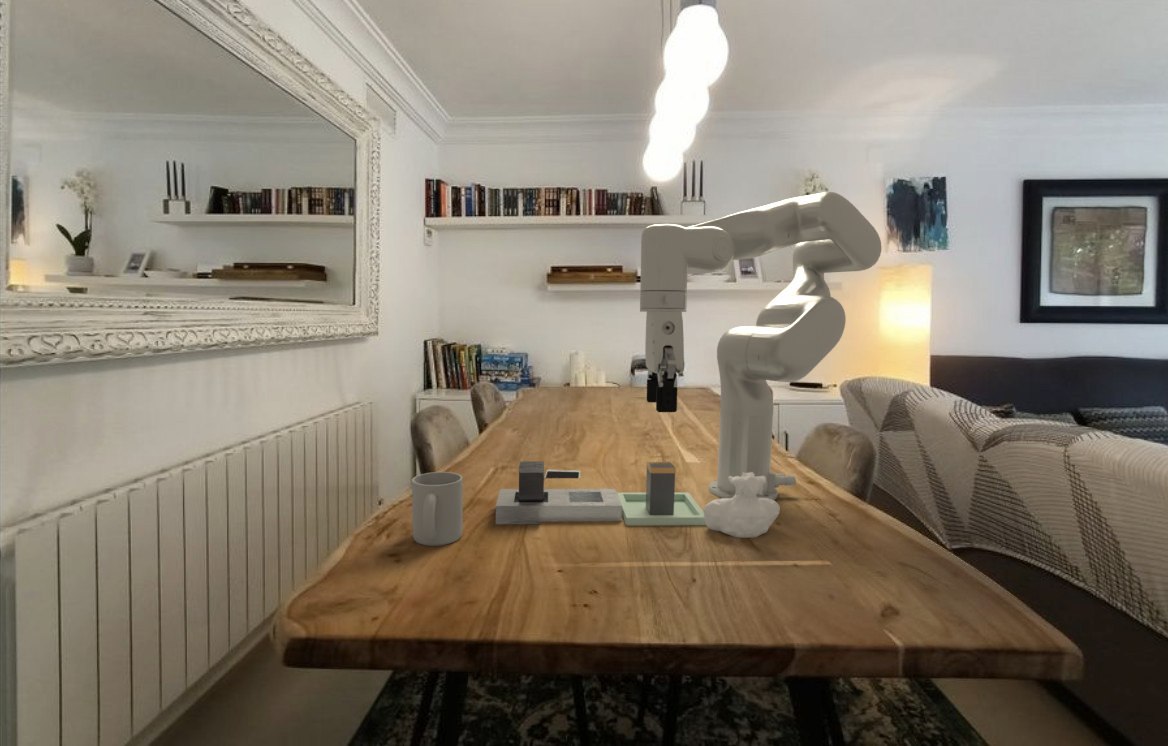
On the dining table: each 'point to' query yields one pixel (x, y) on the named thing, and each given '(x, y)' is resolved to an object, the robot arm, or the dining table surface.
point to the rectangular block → (660, 488)
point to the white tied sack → (742, 509)
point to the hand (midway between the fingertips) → (660, 406)
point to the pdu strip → (553, 501)
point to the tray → (683, 515)
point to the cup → (437, 508)
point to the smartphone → (562, 474)
